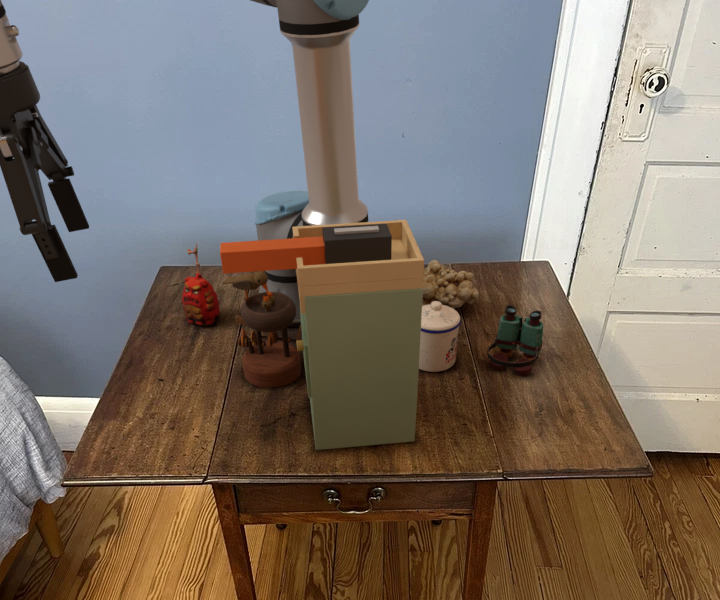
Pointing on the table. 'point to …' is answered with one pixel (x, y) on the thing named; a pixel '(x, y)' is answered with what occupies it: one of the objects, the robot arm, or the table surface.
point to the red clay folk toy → (199, 298)
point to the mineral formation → (447, 286)
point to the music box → (268, 314)
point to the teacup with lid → (438, 337)
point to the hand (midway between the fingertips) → (73, 252)
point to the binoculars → (517, 341)
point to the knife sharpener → (309, 249)
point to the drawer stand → (362, 342)
